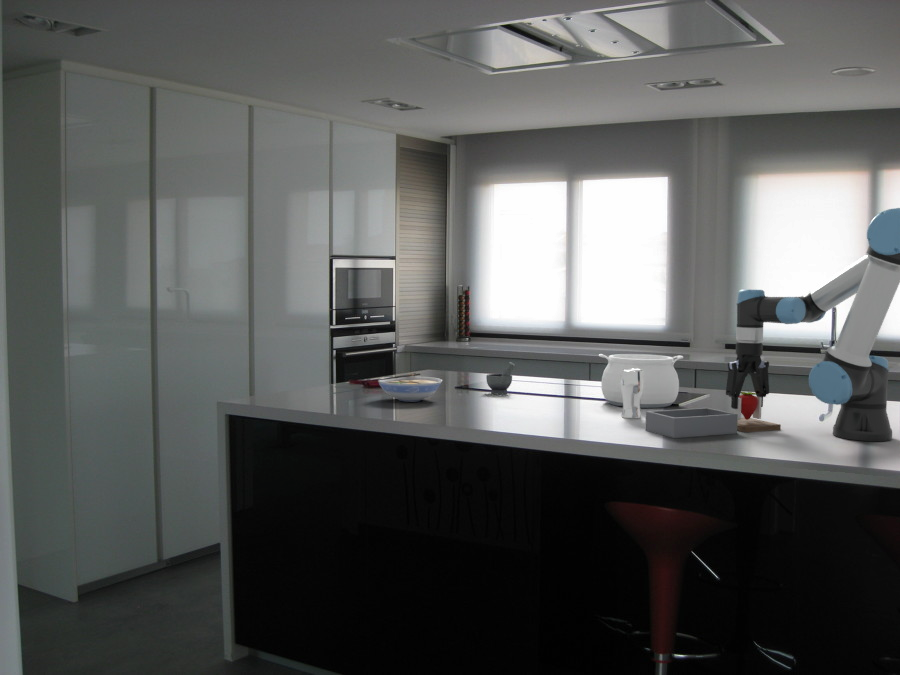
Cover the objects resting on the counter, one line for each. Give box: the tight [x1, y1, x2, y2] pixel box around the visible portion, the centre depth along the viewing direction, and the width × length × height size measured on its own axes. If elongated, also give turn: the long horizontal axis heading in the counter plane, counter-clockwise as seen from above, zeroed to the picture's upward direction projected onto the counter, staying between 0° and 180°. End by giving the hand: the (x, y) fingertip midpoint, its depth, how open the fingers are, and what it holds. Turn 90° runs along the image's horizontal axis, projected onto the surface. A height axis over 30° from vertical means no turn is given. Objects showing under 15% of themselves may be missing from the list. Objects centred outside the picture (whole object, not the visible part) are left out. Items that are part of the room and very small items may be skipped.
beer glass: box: [621, 369, 643, 420], centre depth 279 cm, size 7×7×15 cm
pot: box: [598, 353, 684, 409], centre depth 308 cm, size 29×26×17 cm
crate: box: [645, 407, 738, 439], centre depth 254 cm, size 13×22×6 cm, turn 113°
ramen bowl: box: [371, 372, 443, 403], centre depth 310 cm, size 25×23×8 cm
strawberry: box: [739, 386, 758, 420], centre depth 262 cm, size 6×8×10 cm
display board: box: [737, 417, 782, 433], centre depth 263 cm, size 14×13×2 cm
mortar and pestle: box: [485, 361, 516, 395], centre depth 332 cm, size 11×9×12 cm
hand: (746, 418), depth 263 cm, fingers closed on strawberry, 7 cm apart
